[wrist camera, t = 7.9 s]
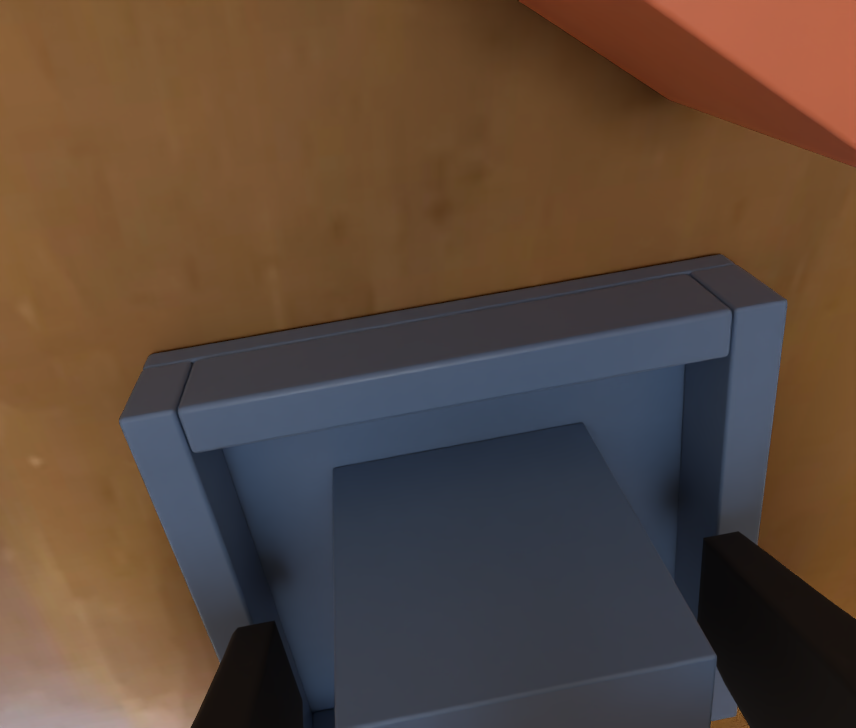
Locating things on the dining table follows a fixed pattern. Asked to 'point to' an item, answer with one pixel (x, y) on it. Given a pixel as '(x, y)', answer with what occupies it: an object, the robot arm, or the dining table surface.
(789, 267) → the dining table surface
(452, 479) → the slate block
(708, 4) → the terracotta block
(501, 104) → the dining table surface
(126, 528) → the dining table surface
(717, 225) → the dining table surface
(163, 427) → the slate tray
